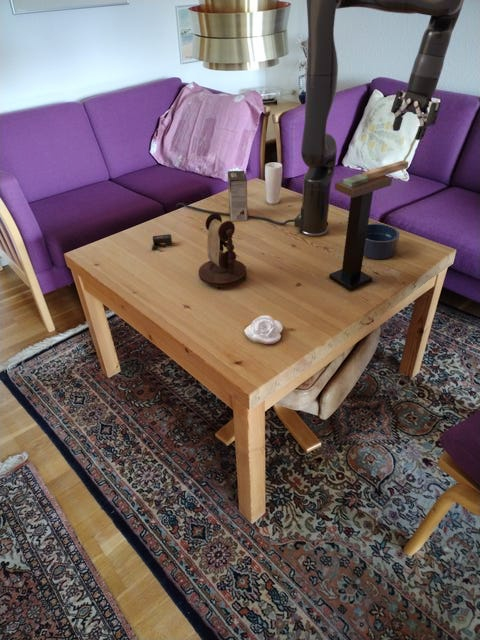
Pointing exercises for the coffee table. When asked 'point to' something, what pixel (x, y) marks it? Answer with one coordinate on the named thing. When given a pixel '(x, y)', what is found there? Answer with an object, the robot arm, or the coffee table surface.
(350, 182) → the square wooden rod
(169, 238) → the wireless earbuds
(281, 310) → the coffee table surface
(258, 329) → the rose
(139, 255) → the coffee table surface
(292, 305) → the coffee table surface
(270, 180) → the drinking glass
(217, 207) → the coffee table surface
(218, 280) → the scroll
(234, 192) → the coffee box
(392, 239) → the bowl
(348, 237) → the headphone stand
